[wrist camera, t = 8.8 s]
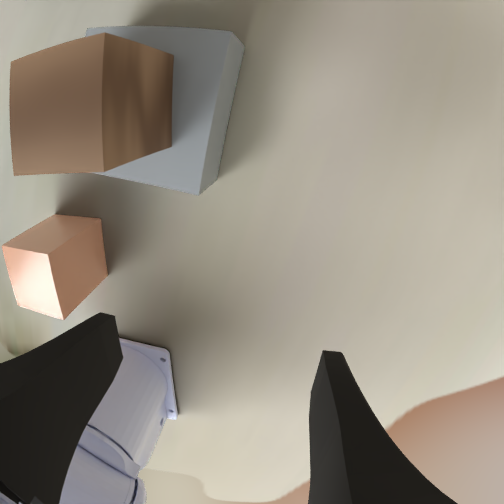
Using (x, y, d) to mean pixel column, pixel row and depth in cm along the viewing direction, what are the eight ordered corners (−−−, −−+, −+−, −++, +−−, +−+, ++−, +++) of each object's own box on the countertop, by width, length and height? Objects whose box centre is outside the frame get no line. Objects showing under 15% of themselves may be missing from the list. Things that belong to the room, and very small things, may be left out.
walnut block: (171, 146, 15) (103, 172, 9) (94, 149, 15) (14, 175, 10) (173, 55, 13) (104, 32, 7) (94, 66, 13) (10, 62, 8)
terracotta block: (108, 275, 23) (63, 320, 17) (63, 266, 23) (18, 305, 18) (101, 218, 21) (47, 254, 15) (55, 214, 21) (1, 245, 16)
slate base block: (218, 178, 19) (198, 195, 15) (104, 156, 19) (67, 168, 16) (246, 47, 16) (231, 31, 12) (122, 38, 16) (87, 28, 12)
